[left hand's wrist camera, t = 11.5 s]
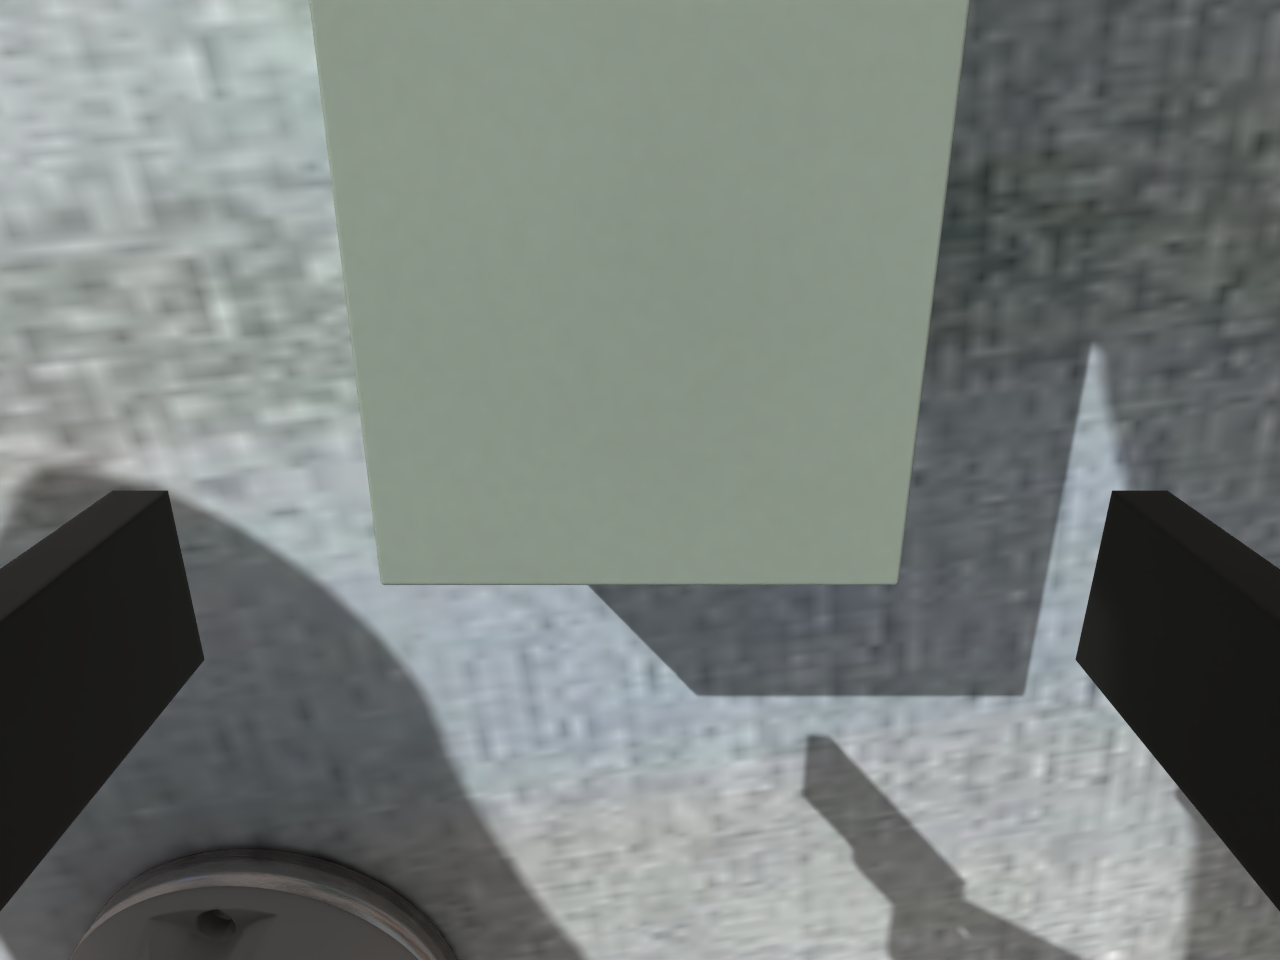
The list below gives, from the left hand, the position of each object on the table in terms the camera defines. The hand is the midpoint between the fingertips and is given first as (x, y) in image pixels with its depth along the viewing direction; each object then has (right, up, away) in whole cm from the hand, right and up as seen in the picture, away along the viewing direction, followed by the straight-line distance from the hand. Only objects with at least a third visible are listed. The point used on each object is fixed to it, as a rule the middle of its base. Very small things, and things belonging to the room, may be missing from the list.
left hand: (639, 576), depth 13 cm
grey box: (0, +11, +11) cm, 16 cm away
